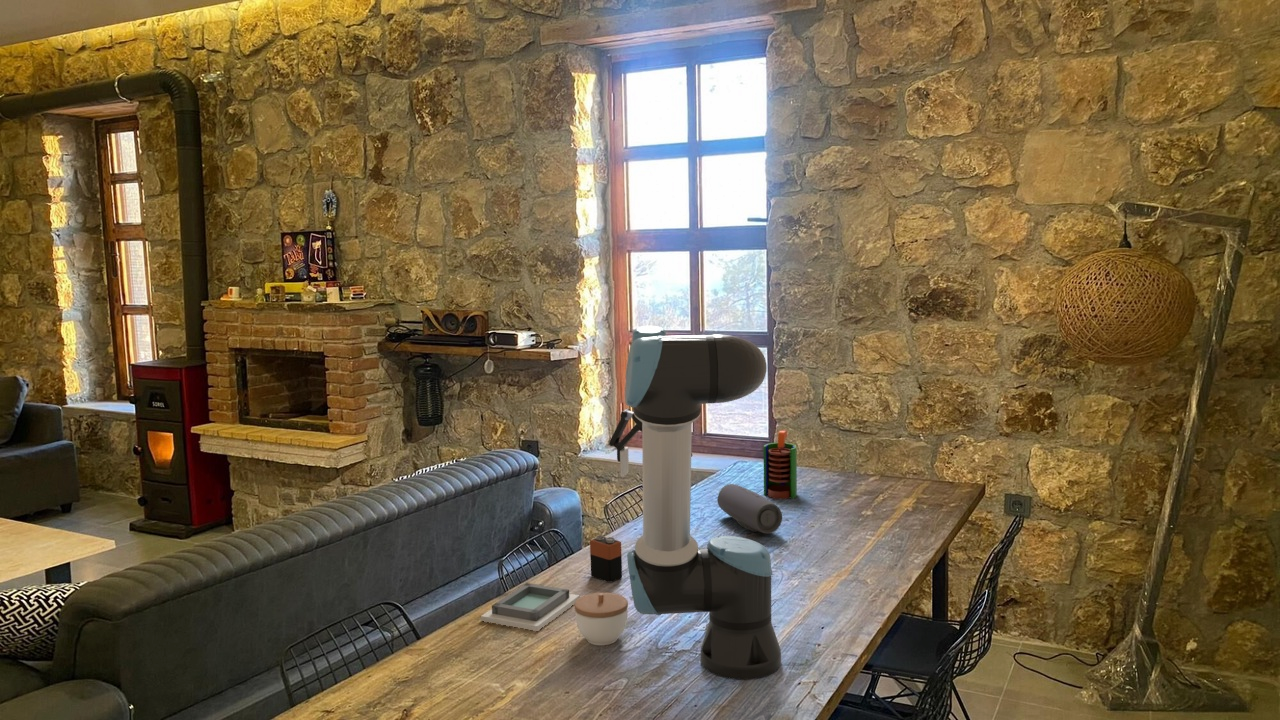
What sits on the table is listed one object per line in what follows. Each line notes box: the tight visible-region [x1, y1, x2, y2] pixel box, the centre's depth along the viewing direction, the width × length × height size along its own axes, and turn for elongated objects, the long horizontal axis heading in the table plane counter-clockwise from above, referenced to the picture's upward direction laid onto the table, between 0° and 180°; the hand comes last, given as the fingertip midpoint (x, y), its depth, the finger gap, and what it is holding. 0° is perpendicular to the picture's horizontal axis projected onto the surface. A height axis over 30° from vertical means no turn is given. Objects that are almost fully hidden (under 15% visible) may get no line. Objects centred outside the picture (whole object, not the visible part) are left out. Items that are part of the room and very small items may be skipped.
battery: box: [589, 534, 623, 583], centre depth 218 cm, size 4×7×10 cm, turn 47°
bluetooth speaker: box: [717, 483, 783, 534], centre depth 255 cm, size 23×9×10 cm, turn 22°
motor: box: [762, 430, 798, 500], centre depth 285 cm, size 10×9×20 cm
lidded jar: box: [573, 592, 629, 647], centre depth 184 cm, size 11×11×9 cm
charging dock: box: [480, 582, 580, 632], centre depth 199 cm, size 18×14×3 cm
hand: (650, 480), depth 212 cm, fingers open, 13 cm apart
